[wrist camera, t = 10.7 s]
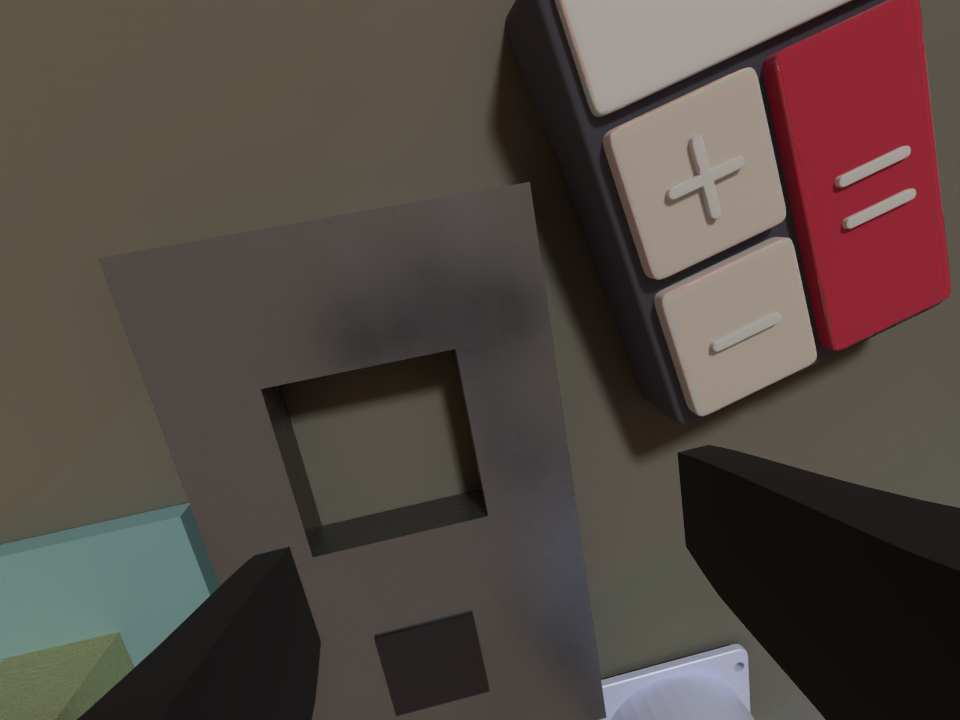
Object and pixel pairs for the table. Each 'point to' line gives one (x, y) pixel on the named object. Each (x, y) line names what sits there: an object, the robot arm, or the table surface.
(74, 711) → the wooden block
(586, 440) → the table surface
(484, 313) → the grey square-hole board
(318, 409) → the table surface
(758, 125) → the calculator
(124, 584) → the pad
